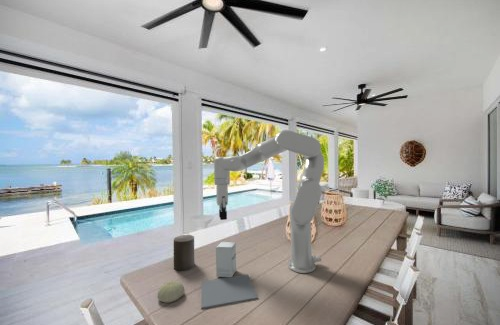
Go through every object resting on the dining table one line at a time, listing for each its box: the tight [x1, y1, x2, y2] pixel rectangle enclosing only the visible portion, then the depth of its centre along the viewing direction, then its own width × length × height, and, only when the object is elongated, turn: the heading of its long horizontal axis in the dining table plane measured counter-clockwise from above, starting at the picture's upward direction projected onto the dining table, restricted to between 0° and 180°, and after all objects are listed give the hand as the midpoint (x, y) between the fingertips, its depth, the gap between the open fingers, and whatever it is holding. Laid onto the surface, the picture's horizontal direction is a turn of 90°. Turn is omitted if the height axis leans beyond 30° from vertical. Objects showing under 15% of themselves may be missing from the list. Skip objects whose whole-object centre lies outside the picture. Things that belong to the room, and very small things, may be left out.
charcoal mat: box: [200, 274, 259, 310], centre depth 80 cm, size 20×16×1 cm
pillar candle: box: [173, 234, 195, 272], centre depth 101 cm, size 10×10×15 cm
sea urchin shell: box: [157, 280, 185, 304], centre depth 78 cm, size 9×8×8 cm
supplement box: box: [215, 241, 237, 278], centre depth 93 cm, size 7×7×13 cm
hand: (223, 217), depth 103 cm, fingers open, 4 cm apart
